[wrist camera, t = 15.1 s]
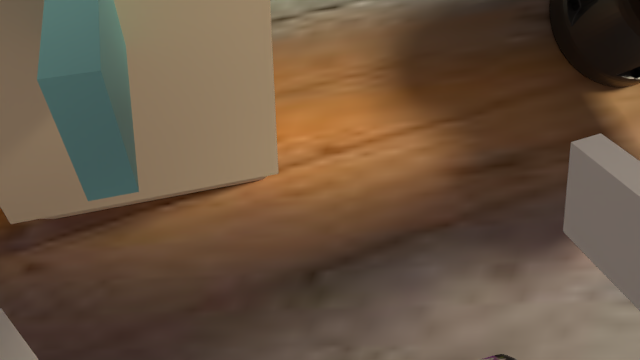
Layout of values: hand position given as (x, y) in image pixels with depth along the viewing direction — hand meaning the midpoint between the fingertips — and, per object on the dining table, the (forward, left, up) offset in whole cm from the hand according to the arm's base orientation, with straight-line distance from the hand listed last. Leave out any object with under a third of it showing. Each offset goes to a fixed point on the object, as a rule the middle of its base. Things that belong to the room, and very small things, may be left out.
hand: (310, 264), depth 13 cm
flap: (-2, -12, -20) cm, 24 cm away
